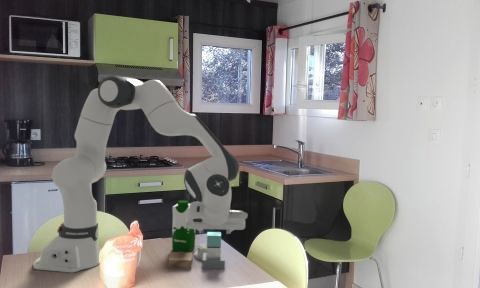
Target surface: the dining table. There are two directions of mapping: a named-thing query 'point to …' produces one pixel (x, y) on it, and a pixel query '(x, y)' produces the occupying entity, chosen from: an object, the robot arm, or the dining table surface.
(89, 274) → the dining table surface
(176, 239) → the milk carton
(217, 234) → the block
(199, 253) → the mechanical component
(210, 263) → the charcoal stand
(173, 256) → the walnut stand
